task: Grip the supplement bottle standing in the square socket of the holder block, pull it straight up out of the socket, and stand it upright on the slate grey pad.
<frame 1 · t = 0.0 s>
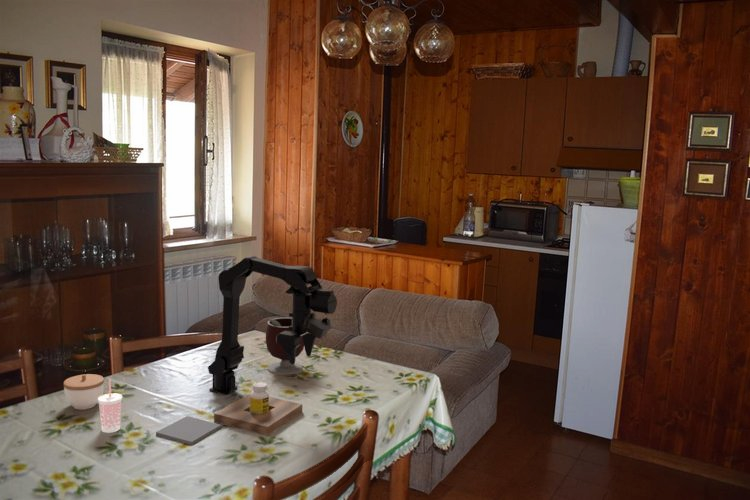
hand: (300, 360, 187), 15 cm above the table, tool pointing down, fingers open, 9 cm apart
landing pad: (189, 431, 170), on the table
mate gourd: (283, 370, 221), on the table
beverage cup: (110, 429, 169), on the table
holder block: (259, 416, 181), on the table
lidded jar: (84, 406, 184), on the table
supplement bottle: (259, 417, 181), resting in holder block
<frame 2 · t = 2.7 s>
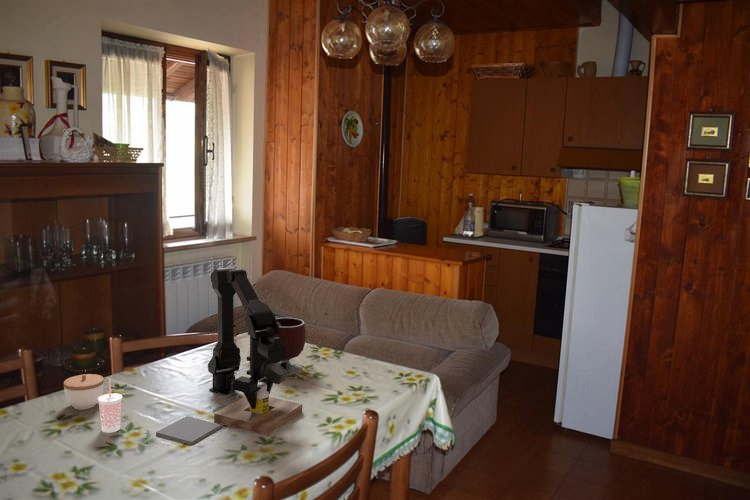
hand: (259, 405, 180), 4 cm above the table, tool pointing down, fingers closed on supplement bottle, 5 cm apart
supplement bottle: (259, 417, 181), resting in holder block, touching gripper
everything else where it was.
when the fingers open (6 cm above the table, at t = 8.2 s): supplement bottle drops 1 cm, resting on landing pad.
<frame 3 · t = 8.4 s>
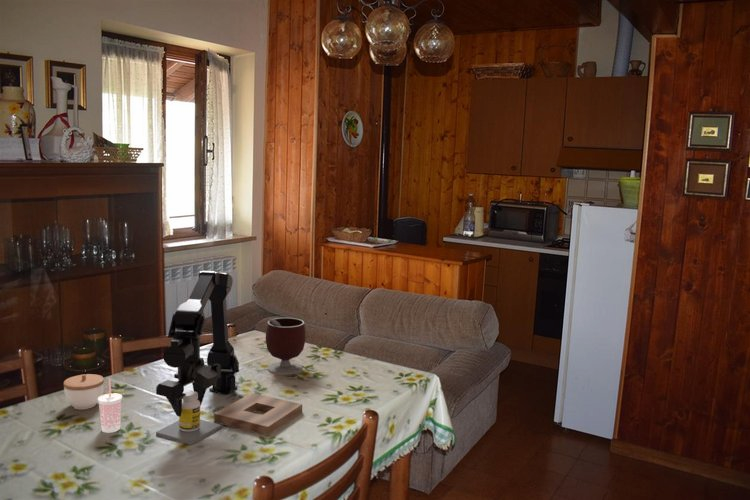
hand: (189, 410, 169), 6 cm above the table, tool pointing down, fingers open, 8 cm apart
supplement bottle: (189, 428, 170), point 1 cm above the table, touching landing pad
everything else where it was.
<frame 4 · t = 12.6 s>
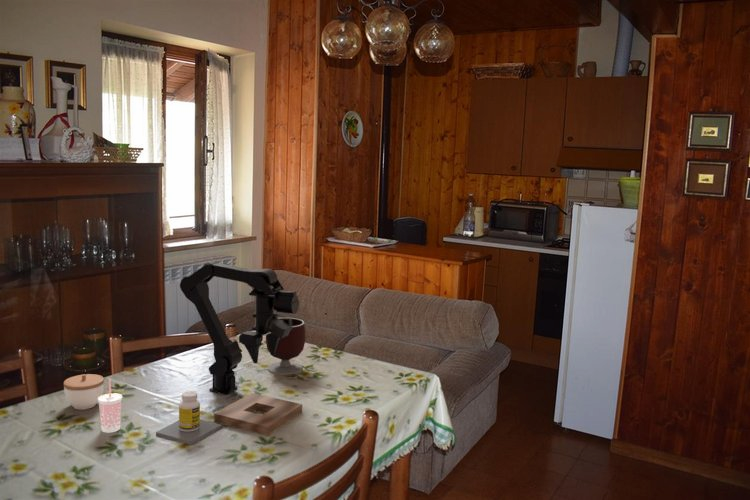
hand: (264, 359, 195), 12 cm above the table, tool pointing down, fingers open, 9 cm apart
nothing on the table moved.
at the end: supplement bottle inside the target area on the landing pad (0.1 cm from its centre), point 0.6 cm above the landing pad's base; supplement bottle tilted 0°; the gripper is holding nothing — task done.
